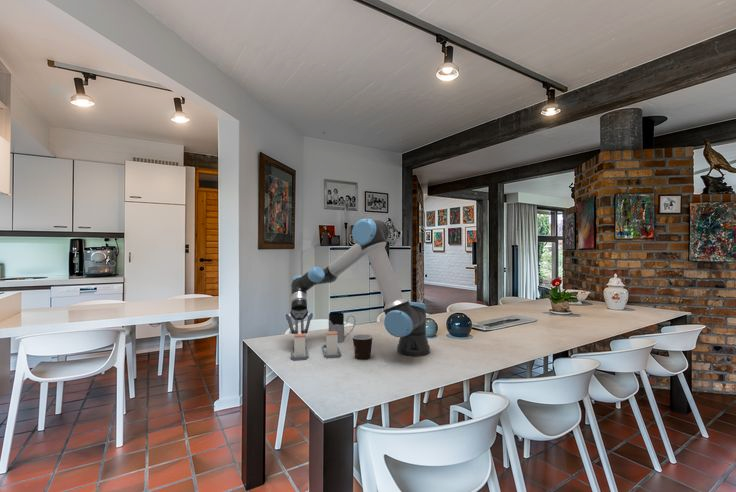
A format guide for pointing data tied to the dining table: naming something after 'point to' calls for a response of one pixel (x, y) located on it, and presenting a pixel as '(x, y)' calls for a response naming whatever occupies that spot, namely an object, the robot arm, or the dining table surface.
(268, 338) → the dining table surface
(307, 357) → the grey double base frame
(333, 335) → the tab
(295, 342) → the tab
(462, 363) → the dining table surface
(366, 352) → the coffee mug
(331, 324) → the grey pitcher
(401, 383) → the dining table surface
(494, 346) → the dining table surface
